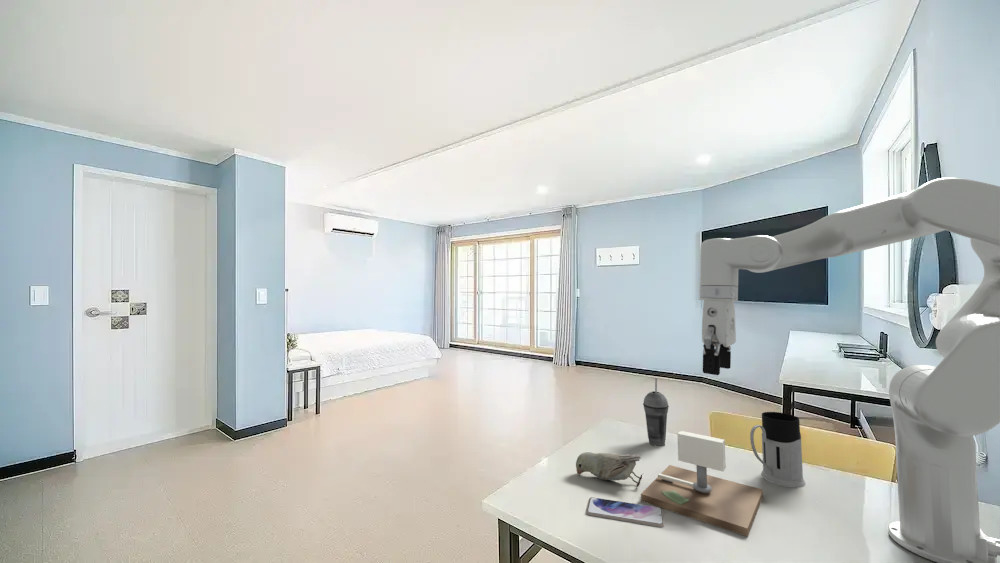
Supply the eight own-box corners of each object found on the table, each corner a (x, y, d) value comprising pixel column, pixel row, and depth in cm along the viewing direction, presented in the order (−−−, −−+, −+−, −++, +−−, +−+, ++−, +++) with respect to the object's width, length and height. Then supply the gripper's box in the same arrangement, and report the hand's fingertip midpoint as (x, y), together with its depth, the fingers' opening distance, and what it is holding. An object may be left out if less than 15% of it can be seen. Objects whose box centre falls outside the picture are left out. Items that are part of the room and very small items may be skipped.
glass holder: (814, 483, 92) (811, 419, 93) (771, 494, 87) (768, 426, 88) (777, 468, 100) (775, 409, 101) (736, 477, 96) (734, 415, 96)
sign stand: (727, 493, 85) (725, 438, 85) (723, 500, 82) (721, 443, 82) (661, 474, 94) (659, 425, 94) (655, 480, 91) (654, 429, 92)
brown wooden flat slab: (763, 496, 87) (762, 488, 87) (747, 536, 72) (747, 527, 72) (669, 470, 100) (669, 464, 100) (641, 500, 86) (640, 492, 86)
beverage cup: (665, 439, 121) (663, 374, 122) (673, 448, 114) (671, 379, 115) (641, 439, 122) (639, 374, 123) (647, 448, 115) (645, 379, 116)
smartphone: (589, 496, 87) (662, 507, 82) (589, 500, 87) (662, 511, 82) (585, 512, 80) (664, 525, 76) (585, 516, 80) (664, 529, 75)
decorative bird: (579, 470, 101) (578, 441, 102) (644, 483, 94) (643, 451, 94) (573, 478, 97) (572, 448, 97) (641, 493, 89) (640, 459, 90)
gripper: (728, 294, 78) (726, 379, 78) (745, 294, 91) (744, 368, 91) (688, 293, 83) (686, 373, 83) (710, 293, 96) (709, 363, 96)
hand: (717, 370), depth 87 cm, fingers open, 9 cm apart
